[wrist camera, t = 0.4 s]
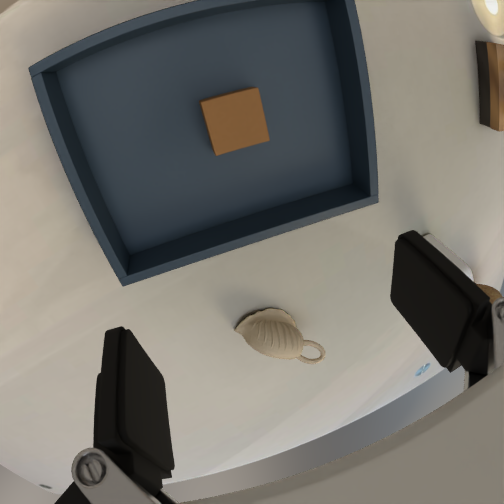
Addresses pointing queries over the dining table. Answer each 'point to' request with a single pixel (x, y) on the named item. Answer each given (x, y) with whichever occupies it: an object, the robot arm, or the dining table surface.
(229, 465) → the dining table surface
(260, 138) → the tan flat square block
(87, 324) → the dining table surface
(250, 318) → the decorative ornament
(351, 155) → the tray
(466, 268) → the eye dropper bottle
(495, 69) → the brush
